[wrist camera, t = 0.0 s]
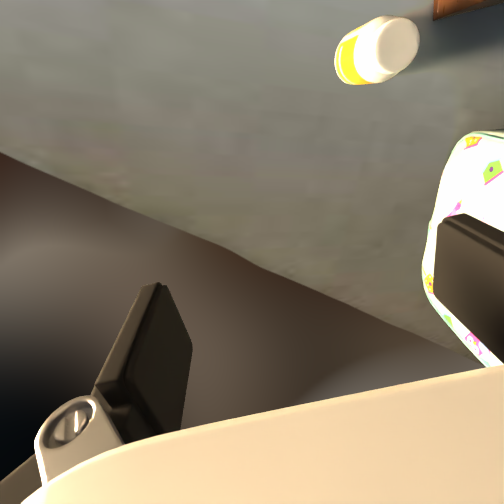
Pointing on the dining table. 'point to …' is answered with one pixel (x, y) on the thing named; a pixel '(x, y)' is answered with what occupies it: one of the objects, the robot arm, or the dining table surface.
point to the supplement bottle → (377, 50)
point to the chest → (459, 7)
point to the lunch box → (468, 211)
